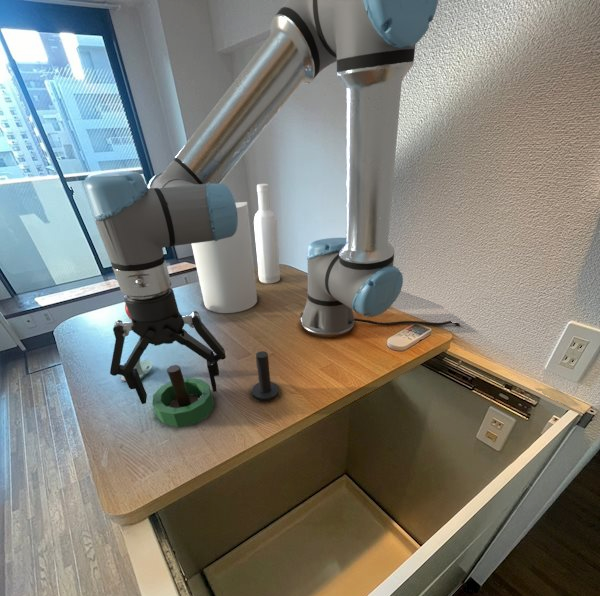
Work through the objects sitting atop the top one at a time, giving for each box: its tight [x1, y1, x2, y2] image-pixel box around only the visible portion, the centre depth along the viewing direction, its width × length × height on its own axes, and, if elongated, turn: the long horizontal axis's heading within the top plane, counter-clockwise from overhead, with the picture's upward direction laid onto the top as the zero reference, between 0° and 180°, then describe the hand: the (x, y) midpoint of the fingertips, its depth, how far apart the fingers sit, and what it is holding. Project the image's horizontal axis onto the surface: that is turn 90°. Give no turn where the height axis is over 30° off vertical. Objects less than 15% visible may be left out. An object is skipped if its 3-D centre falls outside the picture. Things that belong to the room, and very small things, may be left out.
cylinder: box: [191, 201, 258, 314], centre depth 98 cm, size 17×17×28 cm
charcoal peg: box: [251, 350, 280, 403], centre depth 68 cm, size 6×6×10 cm
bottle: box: [253, 183, 281, 284], centre depth 112 cm, size 8×8×30 cm
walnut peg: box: [166, 364, 200, 408], centre depth 65 cm, size 6×6×10 cm
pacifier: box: [121, 358, 154, 382], centre depth 75 cm, size 7×6×6 cm
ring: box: [152, 376, 215, 428], centre depth 67 cm, size 11×11×4 cm
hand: (180, 393), depth 66 cm, fingers open, 13 cm apart
